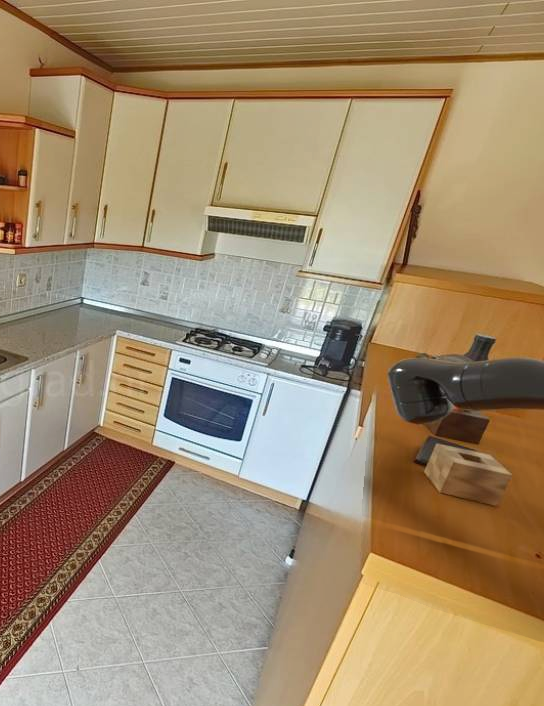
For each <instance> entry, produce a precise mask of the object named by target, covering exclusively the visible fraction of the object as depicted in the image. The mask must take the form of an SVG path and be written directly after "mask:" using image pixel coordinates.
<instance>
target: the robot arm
mask: <svg viewBox="0 0 544 706" xmlns="http://www.w3.org/2000/svg"><path fill="white" fill-rule="evenodd" d="M463 355H464V354H463ZM463 355H462V354H458V353H449V354H441V355H437V354H435V355H431V356H429V354H428V353H426V352H421V353H419V354H417V355H415V357H410V358H409V357H407V358H404V359H401V360H399V361H397V362H395V363H394V364H393V365H391V367H390V368H389V369H388V371H387V380H388V385H389V388H390V392H391V396H392V401H393V404H394V408H395V411H396V414H397V415H398V416H399V417H400V419H402V420H403V421H404V422H407V423H409V424H413V425H425V424H430V423H434V422H437V421H440V420H442V419H444V418H445V417H447V416H448V415H449V414H450V413H451V412H452V411H453V409H454V407H455V406H456V407H457V408H459V409H462V410H467V411H479V412H482V411H484V412H485V411H512V410H513V411H516V410H517V411H518V410H520V411H521V410H523V411H524V410H525V411H526V410H527V411H528V410H531V411H533V410H534V411H544V360H541V359H536V358H530V357H518V356H517V357H502V358H495V359H488V360H485V361H478V362H474V361H473V360H471V359H470V358H468V357H466V356H463Z"/></svg>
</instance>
